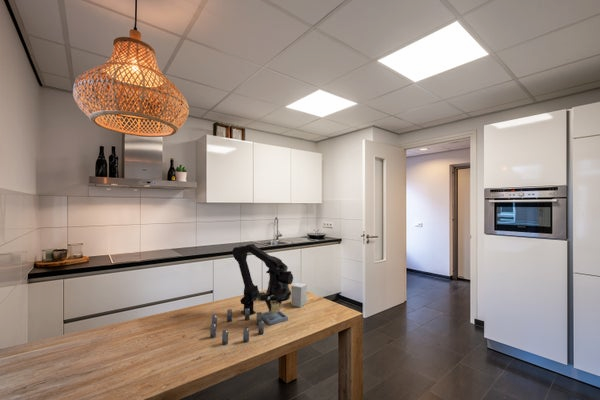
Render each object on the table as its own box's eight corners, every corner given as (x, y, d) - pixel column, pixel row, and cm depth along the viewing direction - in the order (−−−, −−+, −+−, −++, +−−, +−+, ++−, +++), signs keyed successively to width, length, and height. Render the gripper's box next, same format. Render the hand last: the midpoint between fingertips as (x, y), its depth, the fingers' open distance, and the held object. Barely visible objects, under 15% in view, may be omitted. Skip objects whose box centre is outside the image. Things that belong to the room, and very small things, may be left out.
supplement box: (306, 304, 170) (307, 284, 170) (300, 307, 164) (301, 287, 164) (297, 301, 174) (297, 282, 174) (290, 305, 168) (291, 285, 168)
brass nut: (267, 310, 149) (267, 301, 149) (275, 308, 152) (275, 299, 152) (272, 314, 144) (272, 305, 144) (280, 312, 147) (281, 303, 147)
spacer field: (203, 326, 138) (203, 314, 138) (251, 314, 153) (251, 304, 153) (218, 350, 116) (218, 337, 116) (272, 334, 131) (272, 322, 131)
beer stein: (282, 303, 170) (282, 264, 170) (257, 298, 179) (258, 261, 179) (294, 295, 184) (295, 259, 184) (271, 290, 194) (272, 256, 194)
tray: (260, 317, 150) (260, 313, 150) (278, 313, 156) (278, 309, 156) (269, 325, 140) (269, 321, 140) (287, 320, 147) (287, 316, 147)
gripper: (265, 288, 136) (265, 318, 136) (296, 282, 147) (295, 311, 147) (256, 282, 146) (256, 311, 146) (286, 277, 156) (285, 304, 156)
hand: (274, 309), depth 148 cm, fingers closed on brass nut, 5 cm apart
